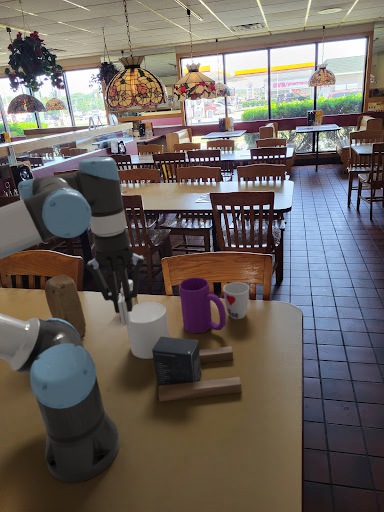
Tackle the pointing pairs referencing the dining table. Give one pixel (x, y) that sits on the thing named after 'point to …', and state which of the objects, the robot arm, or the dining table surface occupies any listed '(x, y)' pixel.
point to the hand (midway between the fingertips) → (126, 322)
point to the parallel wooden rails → (204, 386)
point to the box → (176, 361)
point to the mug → (199, 306)
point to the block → (65, 302)
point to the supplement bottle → (134, 300)
